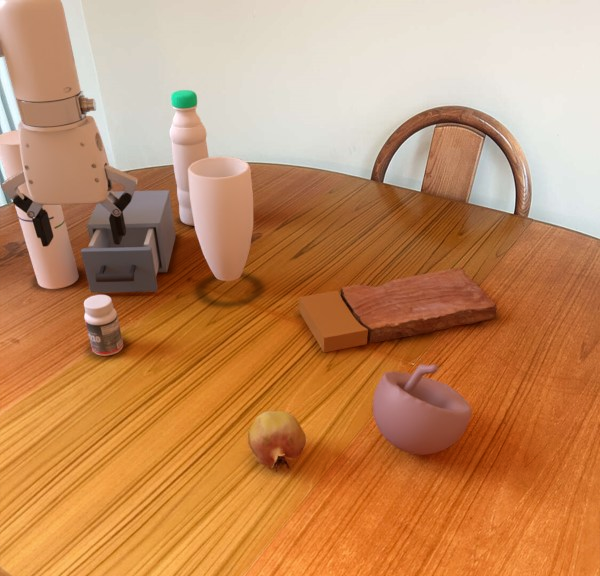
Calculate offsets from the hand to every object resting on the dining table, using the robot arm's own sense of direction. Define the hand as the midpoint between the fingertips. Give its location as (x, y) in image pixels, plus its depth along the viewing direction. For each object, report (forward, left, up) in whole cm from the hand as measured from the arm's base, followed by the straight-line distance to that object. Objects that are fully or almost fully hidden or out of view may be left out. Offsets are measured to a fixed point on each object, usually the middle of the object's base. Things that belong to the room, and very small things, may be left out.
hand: (83, 241), depth 90 cm
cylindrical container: (-13, +22, -18) cm, 32 cm away
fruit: (+26, -25, -18) cm, 40 cm away
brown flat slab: (+46, +7, -18) cm, 50 cm away
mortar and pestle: (+44, -23, -18) cm, 53 cm away
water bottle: (+10, +46, -18) cm, 51 cm away
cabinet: (0, +31, -18) cm, 36 cm away
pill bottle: (0, 0, -18) cm, 18 cm away
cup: (+18, +17, -18) cm, 31 cm away
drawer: (0, +20, -17) cm, 26 cm away
